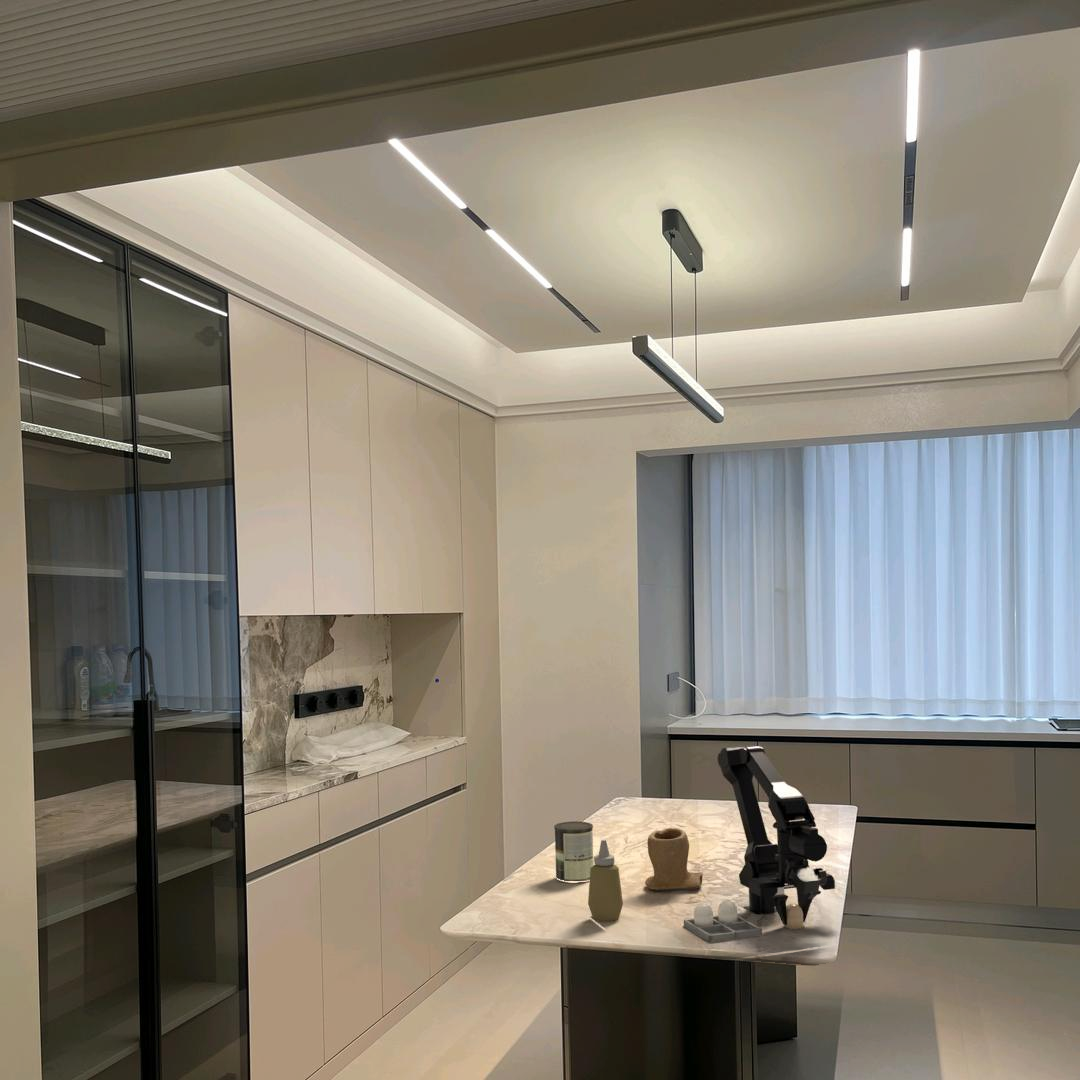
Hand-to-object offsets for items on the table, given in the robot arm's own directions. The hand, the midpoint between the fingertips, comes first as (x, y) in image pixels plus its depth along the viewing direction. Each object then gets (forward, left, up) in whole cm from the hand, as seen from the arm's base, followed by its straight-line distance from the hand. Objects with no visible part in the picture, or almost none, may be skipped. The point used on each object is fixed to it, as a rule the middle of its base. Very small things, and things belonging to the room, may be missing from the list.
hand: (793, 923), depth 236 cm
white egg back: (-6, -19, 0) cm, 20 cm away
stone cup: (-40, -10, -1) cm, 41 cm away
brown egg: (0, 0, -1) cm, 1 cm away
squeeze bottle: (-22, -36, -1) cm, 42 cm away
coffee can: (-60, -30, -1) cm, 67 cm away
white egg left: (-6, -13, 0) cm, 14 cm away
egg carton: (-3, -16, -1) cm, 16 cm away
